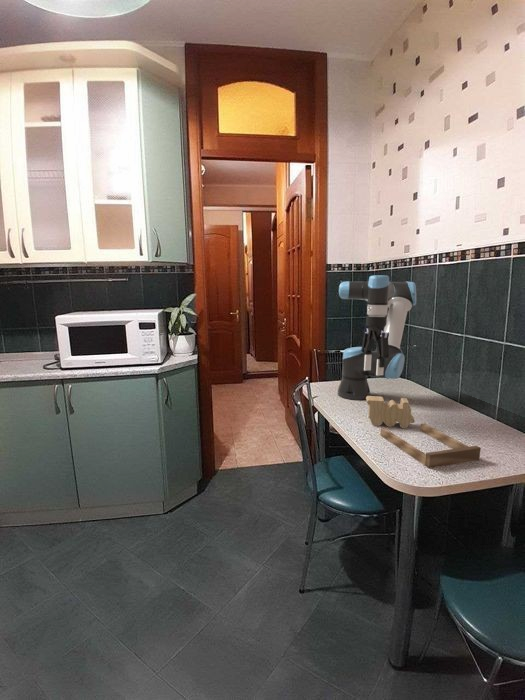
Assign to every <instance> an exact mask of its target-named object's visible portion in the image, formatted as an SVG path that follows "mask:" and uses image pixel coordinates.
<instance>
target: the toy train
mask: <svg viewBox="0 0 525 700" xmlns="http://www.w3.org/2000/svg"><path fill="white" fill-rule="evenodd" d="M365 400H366V403H367V405H368V408H367V409H368V410H367V413H368V414H367V415H368V419H369V420H370V422H371V424H372V425H373V426H374V427H378V426H381V425H382V424H383V423H384V424H385V425H386V426H387V427H394V426H395V424H396V423H399V426H400V428H402V429H407V428H408V427H409V424H414V423H415V422H416V420H415V418H414V417H413V415H412V408H411V407H410V403H409V401H408V399H407V398H406V397H401V398H400V403H397V402H396V401H395V400H394V399H391V400H389V402H385V399H384V397H383V396H376V395H375V396H374V395H373V396H372V395H370V396H367V397H366V399H365Z"/></svg>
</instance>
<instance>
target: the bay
mask: <svg viewBox="0 0 525 700" xmlns="http://www.w3.org/2000/svg"><path fill="white" fill-rule="evenodd" d="M419 429H420V430H419V431H420V432H422V433H425V435H428V436H430V437H431V438H433V439H435V440H436V441H439V442H440V443H442V444H443V445H446V446H447V447H449V448H451V449H445V450H436V451H429V452H426V453H425V452H422V450H420V449H418V448H416V447H415V446H414V445H412V444H411V443H409V442H407V441H406V440H404V439H403V438H401V437H399V436H397V435H396V434H394V433H393V432H391V430H388V429H386V427H383V428H381V427H380V432H379V433H380V434H379V435H380V436H381V437H382V438H384V439H385V440H387V441H388V442H390V443H391V444H392V445H394V446H395V447H397V448H398V449H400V450H402V452H404V453H405V454H407V455H409V456H410V457H411V458H413V459H414V460H416V461H417V462H419V463H420V464H422V465H423V466H424V467H426V468H428V469H433V468H438V467H446V466H451V465H459V464H464V463H472V462H477V461H480V457H481V451H482V450H481V447H480V446H478V445H472V446H469V445H467V444H464V443H463V442H462V441H459V440H457V439H455V438H453V437H451V436H450V435H448V434H445V433H444V432H441V431H439V430H438V429H436V428H434V427H432V426H430V425H428V424H426V423H420V428H419Z"/></svg>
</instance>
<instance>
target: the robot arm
mask: <svg viewBox="0 0 525 700" xmlns="http://www.w3.org/2000/svg"><path fill="white" fill-rule="evenodd" d="M338 295H339V297H340V299H342V300H362V301H366V302H367V308H366V310H367V312H366V314H367V316H366V319H365V320H366V321H365V322H366V323H365V324H366V326H368V328H363V337H362V342H361V343H362V345H361V346H355V347H348V348H345V349H344V350H343V353H342V354H343V355H342V367H341V368H342V370H341V372H342V373H341V379H340V383H339V386H338V389H337V395H338V396H339V397H341V398H343V399H348V400H355V401H358V400H359V401H361V400H366V397H367V396H371V390H370V386H369V382H368V377H375V378H380V379H381V378H382V379H387V380H390V379H392V380H396V379H398V378H400V376H401V375H402V372H403V369H404V365H405V361H406V360H405V359H406V358H405V354H404V353H403V351H402V349H401V343H402V338H403V335H404V334H403V333H404V328H405V326H406V325H405V324H406V320H407V314H408V312H409V311H411V309H412V307H413V306H416V305H417V286H416V283H415V282H414V281H407V280H406V281H390V276H389V275H385V274H384V275H379V274H378V275H377V274H376V275H375V274H374V275H370V276H369V278H368V280H367V281H350V280H348V281H341V282H340V284H339V286H338ZM374 343H375V344H376V345H375V346H376V348H375V350H372V349H373V347H374Z"/></svg>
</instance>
